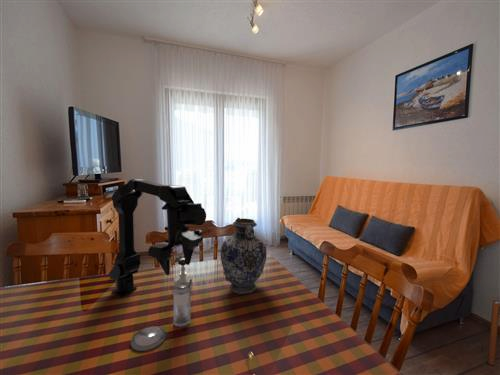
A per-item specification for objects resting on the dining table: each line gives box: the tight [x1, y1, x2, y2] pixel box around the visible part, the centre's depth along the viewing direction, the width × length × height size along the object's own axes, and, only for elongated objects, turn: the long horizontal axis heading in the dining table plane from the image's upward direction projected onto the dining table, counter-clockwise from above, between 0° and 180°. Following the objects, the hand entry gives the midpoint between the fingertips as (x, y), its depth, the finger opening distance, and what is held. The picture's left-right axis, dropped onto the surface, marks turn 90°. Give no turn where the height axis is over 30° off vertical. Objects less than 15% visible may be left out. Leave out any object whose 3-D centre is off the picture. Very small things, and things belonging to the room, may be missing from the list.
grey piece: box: [172, 282, 192, 328], centre depth 72 cm, size 5×5×12 cm
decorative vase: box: [220, 217, 267, 295], centre depth 93 cm, size 21×19×28 cm
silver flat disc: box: [130, 326, 167, 353], centre depth 65 cm, size 9×9×1 cm
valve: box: [173, 255, 193, 286], centre depth 94 cm, size 7×7×12 cm
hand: (178, 269), depth 77 cm, fingers open, 9 cm apart
